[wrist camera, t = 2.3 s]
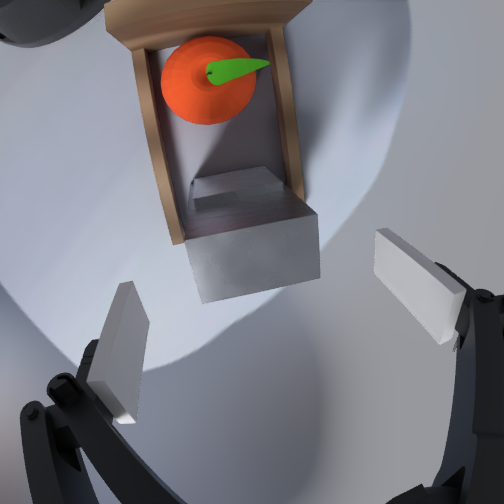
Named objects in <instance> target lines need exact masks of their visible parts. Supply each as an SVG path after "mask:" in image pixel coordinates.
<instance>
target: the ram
mask: <svg viewBox="0 0 504 504" xmlns="http://www.w3.org/2000/svg"><path fill="white" fill-rule="evenodd" d="M184 242H185V246H186V249H187V253H188V257H189V260H190V264H191V268H192V271H193V275H194V278H195V282H196V285H197V289H198V292H199V296H200V299H201V302H202V304H204V303H209V302H214V301H219V300H224V299H229V298H233V297H238V296H243V295H247V294H252V293H257V292H261V291H266V290H270V289H275V288H279V287H284V286H288V285H292V284H297V283H301V282H305V281H309V280H314V279H318V278H320V252H319V231H318V214H317V213H316V212H315V211H314V210H313V209H311V208H310V207H309V206H308V205H307V204H306V203H305V202H304V201H303V200H302V199H301V198H300V197H298V196H297V195H296V194H295V193H294V192H293V191H292V190H291V189H290V188H288V187H287V186H286V185H285V184H284V183H283V182H282V181H281V180H280V179H278V178H277V177H276V176H275V175H274V174H273V173H272V172H270V171H269V170H268V169H267V168H266V167H265V166H261V167H255V168H249V169H243V170H238V171H233V172H227V173H222V174H217V175H212V176H207V177H202V178H197V179H194V184H191V185H190V190H189V199H188V208H187V217H186V227H185V238H184Z"/></svg>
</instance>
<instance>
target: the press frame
mask: <svg viewBox="0 0 504 504" xmlns="http://www.w3.org/2000/svg"><path fill="white" fill-rule="evenodd" d="M311 2H313V1H312V0H114V1H111V2H108V3H105V4H104V12H105V23H106V31H107V32H108V33H110V34H111V35H112V36H113V37H114V38H116V39H117V40H118V41H119V42H121V43H122V44H123V45H124V46H125V47H127V48H128V49H129V50H130V51H131V52H132V59H133V65H134V72H135V78H136V84H137V90H138V96H139V101H140V107H141V112H142V117H143V122H144V127H145V132H146V137H147V142H148V147H149V151H150V156H151V160H152V165H153V169H154V173H155V178H156V182H157V186H158V190H159V194H160V198H161V202H162V206H163V210H164V214H165V218H166V221H167V225H168V229H169V232H170V236H171V240H172V243H173V245H177V244H181V243H184V238H185V233H184V229H183V225H182V221H181V217H180V213H179V208H178V204H177V200H176V196H175V192H174V187H173V183H172V178H171V174H170V169H169V165H168V160H167V156H166V151H165V146H164V141H163V136H162V131H161V126H160V121H159V116H158V111H157V105H156V100H155V94H154V88H153V82H152V76H151V70H150V64H149V57H148V53H149V52H153V51H157V50H161V49H165V48H170V47H174V46H179V45H182V44H184V43H185V42H188V41H190V40H192V39H195V38H199V37H205V36H216V37H223V38H227V37H235V36H245V35H256V34H265V36H266V42H267V48H268V54H269V61H270V63H271V64H270V67H271V73H272V80H273V86H274V93H275V100H276V107H277V114H278V122H279V129H280V137H281V145H282V153H283V161H284V169H285V178H286V186H287V187H288V188H290V189H291V190H292V191H293V192H294V193H295V194H296V195H297V196H298V197H300V198H301V199H302V200H303V201H304V202H305V199H304V188H303V177H302V167H301V157H300V148H299V139H298V130H297V122H296V114H295V106H294V99H293V92H292V85H291V78H290V71H289V65H288V58H287V52H286V46H285V40H284V34H283V29H282V28H283V27H284V26H285V25H286V24H287V23H288V22H289V21H290V20H291V19H293V18H294V17H295V16H296V15H297V14H298V13H300V12H301V11H302V10H303V9H304V8H305V7H307V6H308V5H309V4H310V3H311Z"/></svg>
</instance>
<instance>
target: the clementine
mask: <svg viewBox="0 0 504 504" xmlns="http://www.w3.org/2000/svg"><path fill="white" fill-rule="evenodd" d="M269 64H271V63H270V62H268V61H266V60H262V59H251V57H250V56H249V55H248V53H247V52H246V51H245V50H244V49H243V48H242V47H241V46H239V45H238V44H236V43H235V42H233V41H231V40H228V39H226V38H223V37H216V36H205V37H199V38H195V39H192V40H190V41H188V42H185V43H184V44H182V45H181V46H180V47H178V48H177V49H176V50H174V52H173V53H172V54H171V55H170V57H169V58H168V59H167V61H166V63H165V66H164V68H163V70H162V77H161V88H162V94H163V97H164V99H165V101H166V103H167V105H168V106H169V107H170V108H171V110H172V111H173V112H174V113H175V114H176V115H178V116H179V117H181V118H183V119H184V120H186V121H189V122H192V123H195V124H205V125H211V124H216V123H222V122H224V121H226V120H229V119H231V118H233V117H234V116H236V115H237V114H238V113H240V112H241V111H242V110H243V109H244V108H245V106H246V105H247V104H248V103H249V101H250V100H251V97H252V95H253V93H254V90H255V85H256V71H255V70H257V69H260V68H262V67H265V66H267V65H269Z"/></svg>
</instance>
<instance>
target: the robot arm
mask: <svg viewBox="0 0 504 504" xmlns="http://www.w3.org/2000/svg"><path fill="white" fill-rule="evenodd" d="M109 1H110V0H0V41H1V42H3V43H6V44H9V45H13V46H17V47H23V48H32V47H39V46H43V45H47V44H50V43H52V42H55V41H57V40H59V39H61V38H63V37H65V36H67V35H69V34H71V33H72V32H74V31H75V30H77V29H78V28H80V27H81V26H83V25H84V24H85V23H87V22H88V21H89V20H90V19H91V18H93V17H94V16H95V15H96V14H97V13H98V12H99V11H100V10H101V9H102V8H103V7H104V4H105V3H108V2H109ZM375 239H376V240H375V258H374V274H375V275H376V276H377V277H378V278H379V279H380V280H381V281H382V282H383V283H384V284H385V285H386V286H387V287H388V288H389V289H390V291H391V292H393V294H394V295H395V296H396V297H397V298H398V299H399V300H400V301H401V302H402V303H403V304H404V305H405V306H406V308H407V309H408V310H409V311H410V312H411V313H412V314H413V315H414V317H415V318H416V319H417V320H418V321H419V322H420V323H421V324H422V325H423V327H424V328H425V329H426V330H427V331H428V332H429V333H430V334H431V336H432V337H433V338H434V339H435V340H436V341H437V343H438V344H439V345H440V344H442V343H444V342H446V341H448V340H450V339H451V338H452V335H453V332H454V329H456V331H458V333H459V335H458V338H457V340H456V343H455V345H454V348H453V351H454V352H455V349H456V348H457V356H456V375H455V385H454V396H453V404H452V411H451V418H450V425H449V431H448V436H447V442H446V447H445V451H444V456H443V461H442V464H441V467H440V470H439V472H438V473H437V475H436V477H435V479H434V482H433V484H432V486H431V487H425V488H424V487H423V485H422V484H420V485H418V486H416V487H414V488H412V489H410V490H409V491H407V492H404V493H402V494H400V495H398V496H396V497H394V498H393V499H392V500H390V501H389V502H387V503H386V504H504V295H498V296H495V295H494V294H493V293H492V292H490V291H488V290H485V289H476V290H474V289H473V288H472V287H470V286H469V285H468V284H467V283H466V282H464V281H463V280H462V279H461V278H459V277H457V275H456V274H455V273H453V272H451V270H449V269H448V268H447V267H446V266H444V265H442V264H439V263H437V262H435V263H434V262H432V261H431V260H430V259H428V258H427V257H426V256H424V255H423V254H422V253H421V252H419V251H418V250H417V249H415V248H414V247H413V246H411V245H410V244H409V243H407V242H406V241H405V240H403V239H402V238H401V237H399V236H397V235H396V234H395V233H394V232H392V231H391V230H389V229H388V228H383V229H378V230H376V237H375ZM149 323H150V322H149V320H148V318H147V315H146V313H145V310H144V308H143V306H142V303H141V301H140V298H139V296H138V293H137V291H136V288H135V286H134V283H133V281H129V282H124V283H120V284H119V286H118V289H117V291H116V294H115V296H114V299H113V302H112V304H111V307H110V310H109V313H108V315H107V318H106V321H105V324H104V327H103V330H102V333H101V336H100V339H96V340H92V341H91V342H90V343H89V344H88V346H87V347H86V348H85V351H84V354H83V358H82V360H81V363H80V364H81V365H80V366H79V369H78V372H77V375H76V378H74V376H73V375H71V374H70V373H61V374H58V375H56V376H55V377H54V378H53V379H52V380H51V381H50V382H49V384H48V386H47V395H48V396H49V397H50V398H51V399H52V400H53V401H54V403H55V405H51V406H48V407H44V406H43V405H42V404H41V403H40V402H39V401H32V402H29V403H27V404H26V405H25V406H24V407H23V409H22V411H21V414H20V426H21V436H22V446H23V453H24V460H25V466H26V473H27V477H28V483H29V488H30V493H31V497H32V500H33V504H99V502H98V500H97V497H96V495H95V492H94V490H93V487H92V484H91V481H90V479H89V476H88V473H87V470H86V467H85V464H84V461H83V458H82V455H81V452H80V449H79V448H80V447H82V449H83V451H84V452H85V454H86V455H87V457H88V458H89V460H90V461H91V463H92V464H93V466H94V467H95V469H96V470H97V472H98V473H99V475H100V476H101V477H102V479H103V480H104V481H105V483H106V484H107V486H108V487H109V488H110V490H111V491H112V492H113V493H114V495H115V496H116V497H117V498H118V500H119V501H120V502H121V503H122V504H187V503H186V502H185V501H184V500H183V499H181V498H180V497H179V496H178V495H177V494H176V493H175V492H174V491H173V490H172V489H171V488H170V487H169V486H168V485H167V484H165V483H164V482H163V481H162V480H161V479H160V478H159V477H158V476H157V475H156V473H154V471H153V470H152V469H151V468H150V467H149V466H148V465H147V464H146V463H145V462H144V461H143V460H142V459H141V458H140V456H139V455H138V454H137V453H136V452H135V451H134V450H133V449H132V448H131V446H130V445H129V444H128V443H127V442H126V440H125V439H124V438H123V437H122V435H121V434H120V433H119V432H118V431H117V429H116V428H115V427H114V426H113V425H112V421H113V416H114V418H115V419H116V420H117V421H118V422H119V423H120V424H125V423H136V420H137V410H138V400H139V392H140V384H141V376H142V368H143V361H144V354H145V348H146V341H147V335H148V329H149Z"/></svg>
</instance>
